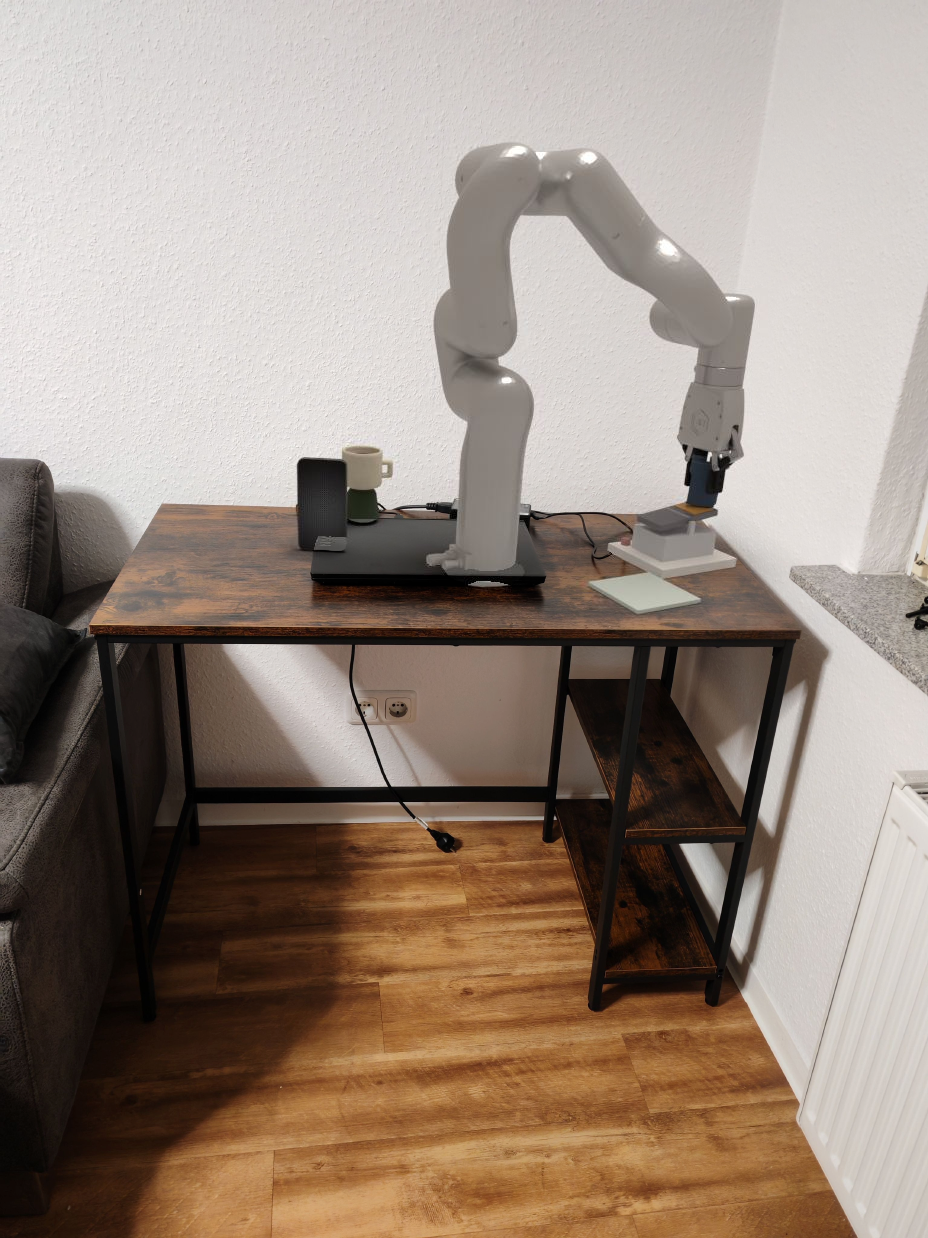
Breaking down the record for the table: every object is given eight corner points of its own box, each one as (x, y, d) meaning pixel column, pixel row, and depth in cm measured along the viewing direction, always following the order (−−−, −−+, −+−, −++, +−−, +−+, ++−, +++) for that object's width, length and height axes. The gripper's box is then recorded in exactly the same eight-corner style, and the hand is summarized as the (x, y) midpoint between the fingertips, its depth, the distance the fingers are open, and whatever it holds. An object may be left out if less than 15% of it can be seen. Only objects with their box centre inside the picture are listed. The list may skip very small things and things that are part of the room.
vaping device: (683, 500, 152) (697, 429, 148) (715, 505, 151) (730, 434, 147) (683, 504, 150) (697, 431, 146) (715, 509, 149) (730, 436, 145)
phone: (347, 549, 147) (347, 459, 141) (346, 552, 146) (347, 460, 140) (298, 547, 147) (296, 456, 141) (297, 549, 146) (295, 458, 140)
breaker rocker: (660, 532, 145) (661, 524, 144) (637, 521, 149) (637, 514, 149) (717, 515, 149) (718, 508, 149) (692, 506, 154) (693, 499, 154)
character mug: (387, 514, 166) (389, 444, 161) (394, 526, 160) (397, 454, 155) (328, 516, 163) (328, 444, 158) (333, 528, 157) (333, 454, 152)
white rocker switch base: (661, 579, 143) (668, 532, 140) (607, 551, 154) (612, 507, 151) (735, 566, 150) (743, 522, 147) (678, 541, 161) (685, 499, 158)
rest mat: (637, 614, 129) (638, 610, 129) (587, 585, 138) (588, 581, 138) (700, 602, 135) (701, 598, 134) (648, 575, 144) (648, 572, 144)
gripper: (665, 369, 147) (652, 478, 155) (741, 386, 134) (722, 505, 141) (699, 367, 151) (685, 474, 158) (776, 384, 137) (757, 500, 145)
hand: (703, 487), depth 150 cm, fingers closed on vaping device, 4 cm apart
